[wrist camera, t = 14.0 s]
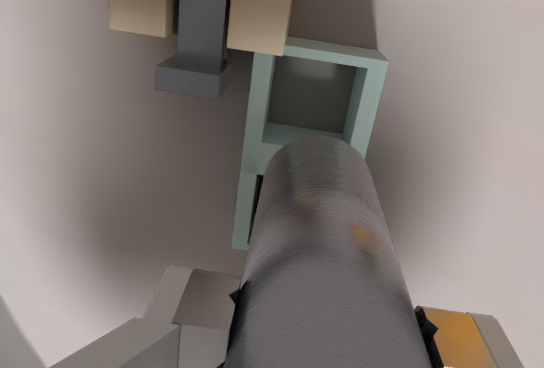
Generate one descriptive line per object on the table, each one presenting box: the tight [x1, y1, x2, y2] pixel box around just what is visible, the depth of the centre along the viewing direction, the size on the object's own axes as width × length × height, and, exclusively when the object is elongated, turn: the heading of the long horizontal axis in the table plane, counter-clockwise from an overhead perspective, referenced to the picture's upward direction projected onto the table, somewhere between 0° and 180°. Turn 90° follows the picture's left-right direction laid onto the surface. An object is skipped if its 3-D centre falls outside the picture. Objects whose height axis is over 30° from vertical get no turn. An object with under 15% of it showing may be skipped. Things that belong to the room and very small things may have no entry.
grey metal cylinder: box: [223, 135, 432, 368], centre depth 10 cm, size 4×4×10 cm
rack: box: [231, 36, 389, 251], centre depth 25 cm, size 13×7×10 cm, turn 172°
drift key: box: [155, 0, 234, 100], centre depth 22 cm, size 8×3×5 cm, turn 172°
